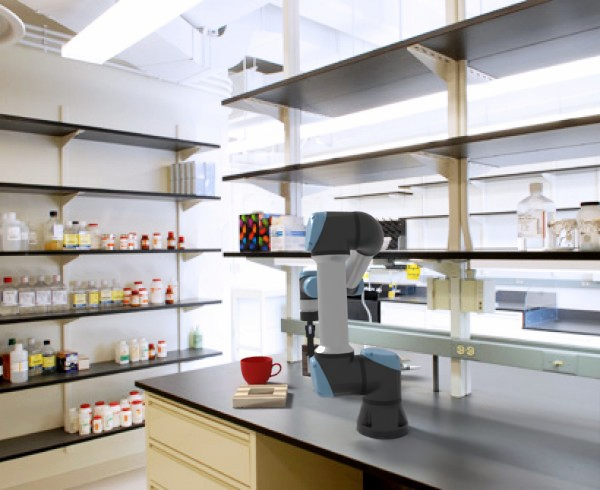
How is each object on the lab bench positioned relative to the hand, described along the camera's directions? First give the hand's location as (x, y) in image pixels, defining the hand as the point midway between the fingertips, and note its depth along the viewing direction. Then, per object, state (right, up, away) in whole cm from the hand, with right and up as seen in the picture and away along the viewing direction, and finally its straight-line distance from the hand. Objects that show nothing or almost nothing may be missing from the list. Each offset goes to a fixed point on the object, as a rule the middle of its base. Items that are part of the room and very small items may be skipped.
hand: (311, 370), depth 189 cm
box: (0, -2, 0) cm, 2 cm away
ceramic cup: (-20, -8, +8) cm, 23 cm away
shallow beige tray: (-18, -7, -12) cm, 23 cm away
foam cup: (+28, -7, +18) cm, 33 cm away
